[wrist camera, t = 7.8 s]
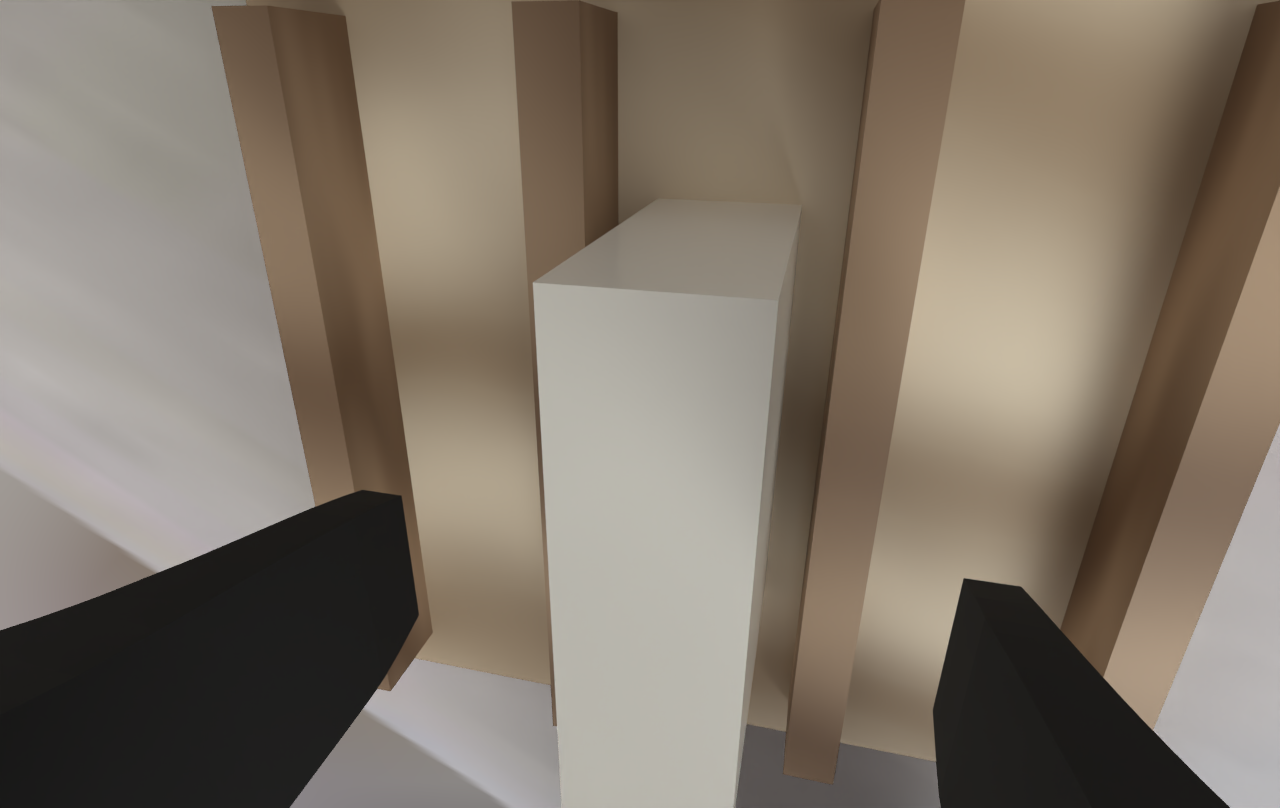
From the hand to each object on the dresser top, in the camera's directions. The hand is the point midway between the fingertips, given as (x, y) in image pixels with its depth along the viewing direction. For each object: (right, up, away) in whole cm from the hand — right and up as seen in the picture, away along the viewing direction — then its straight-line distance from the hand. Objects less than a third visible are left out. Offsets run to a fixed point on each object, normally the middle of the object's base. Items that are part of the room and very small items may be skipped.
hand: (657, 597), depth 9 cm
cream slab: (+1, +2, +5) cm, 6 cm away
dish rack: (+1, +2, +5) cm, 6 cm away
